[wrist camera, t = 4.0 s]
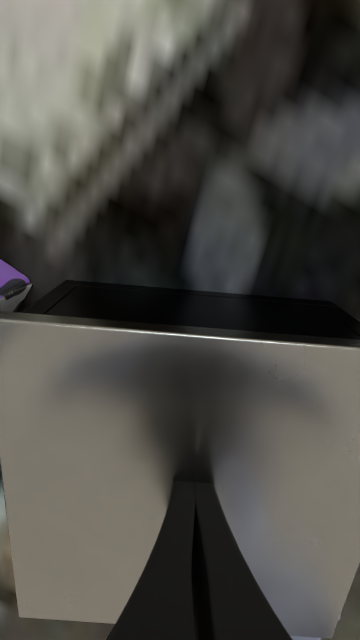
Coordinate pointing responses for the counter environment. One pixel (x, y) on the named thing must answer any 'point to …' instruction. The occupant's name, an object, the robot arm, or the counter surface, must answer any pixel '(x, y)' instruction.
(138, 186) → the counter surface
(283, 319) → the black boxy piece
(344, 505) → the canister lid
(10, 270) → the candy box
